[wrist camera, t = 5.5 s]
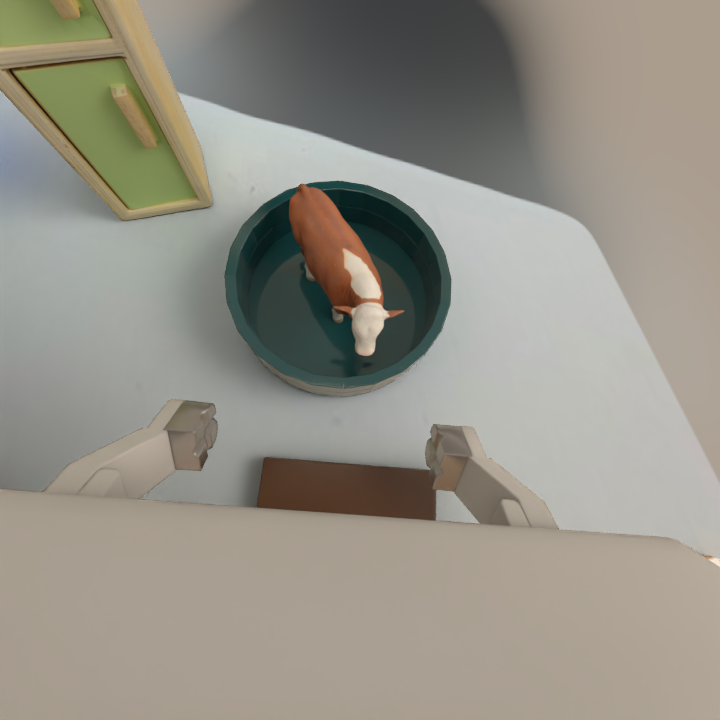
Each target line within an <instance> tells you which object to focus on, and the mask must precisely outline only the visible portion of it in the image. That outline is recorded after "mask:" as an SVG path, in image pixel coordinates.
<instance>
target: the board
mask: <svg viewBox="0 0 720 720" xmlns="http://www.w3.org/2000/svg"><path fill="white" fill-rule="evenodd" d="M429 472H430V470H421V469H409V468H396V467H384V466H372V465H359V464H347V463H335V462H322V461H310V460H298V459H285V458H273V457H265V458H264V462H263V469H262V475H261V482H260V489H259V496H258V503H257V508H268V509H282V510H296V511H310V512H324V513H338V514H352V515H365V516H379V517H392V518H406V519H419V520H434V521H435V519H436V490H435V489H432V486H431V482H430V478H429Z"/></svg>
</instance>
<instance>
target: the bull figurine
mask: <svg viewBox="0 0 720 720" xmlns="http://www.w3.org/2000/svg"><path fill="white" fill-rule="evenodd" d="M289 220H290V223H291V228H292V232H293V234H294V237H295V240H296V242H297V243H298V244H299V245H300V247H301V252H302V254H303V256H304V258H305V265H304V268H305V269H306V277H307V279H308V280H309V281H317V282H318V283H319V284H320V285H321V287H322V288H323V290H324V291H325V293H326V294H327V296H328V298H329V300H330V302H331V304H332V305H333V308H332V312H333V321H334V322H335V323H341V322H342V321H343V315H346V316H348V317H351V318H352V319H353V320H352V331H353V335H354V337H355V340H356V342H355V351H356V353H358V354H359V355H362V356H370V355H372V354H373V353H374V351H375V341H376V338H377V336H378V335H379V334H380V332H381V330H382V329H383V327H384V320H386V319H388V318H392V317H395V316H397V315H399V314H402V313H403V312H404V310H398V311H397V310H391V311H386V310H384V309H383V301H384V296H383V291H382V287H381V279H380V276H379V274H378V272H377V270H376V268H375V266H374V264H373V263H372V260H371V257H370V255H369V253H368V252H367V250H366V248H365V247H364V245H363V243H362V242H361V240H360V238H359V237H358V235H357V234H356V233H355V232H354V231H353V229H352V228H351V227H350V226H349V225H348V224H347V222H346V221H345V220H344V219H343V217H342V216H341V214H340V212H339V210H338V209H337V207H336V206H335V205H334V203H333V202H332V201H331V199H330V198H329V197H328V196H327V195H326V194H325V193H324V192H322V191H321V190H320V189H318V188H314V187H310V188H308V187H307V186H306V185H305V184H300V185H299V186H298V188H297V192H296V194H295V195H293V196H292V197H291V199H290V202H289Z"/></svg>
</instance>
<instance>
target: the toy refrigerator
mask: <svg viewBox="0 0 720 720" xmlns="http://www.w3.org/2000/svg"><path fill="white" fill-rule="evenodd" d="M0 90H1V91H2V92H3V93H4V94H5V96H6V97H7V98H8V99H9V100H10V101H11V102H12V103H13V104H14V105H15V106H16V107H17V109H18V110H19V111H20V112H21V113H22V114H23V115H24V116H25V117H26V118H27V119H28V120H29V122H30V123H31V124H32V125H33V126H34V127H35V128H36V129H37V130H38V131H39V132H40V133H41V134H42V135H43V137H44V138H45V139H46V140H47V141H48V142H49V143H50V144H51V145H52V146H53V147H54V148H55V149H56V150H57V152H58V153H59V154H60V155H61V156H62V157H63V158H64V159H65V160H66V161H67V162H68V163H69V164H70V166H71V167H72V168H73V169H74V170H75V171H76V172H77V173H78V174H79V175H80V176H81V177H82V178H83V179H84V181H85V182H86V183H87V184H88V185H89V186H90V187H91V188H92V189H93V190H94V191H95V192H96V193H97V194H98V195H99V197H100V198H101V199H102V200H103V201H104V202H105V203H106V204H107V205H108V206H109V207H110V208H111V209H112V210H113V212H114V213H115V214H116V215H117V216H118V217H119V218H120V219H121V220H123V221H127V220H134V219H139V218H145V217H151V216H157V215H162V214H168V213H174V212H180V211H186V210H192V209H198V208H204V207H209V206H211V205H212V198H211V192H210V187H209V183H208V178H207V173H206V169H205V164H204V159H203V155H202V151H201V147H200V144H199V141H198V139H197V137H196V135H195V132H194V130H193V128H192V125H191V123H190V121H189V118H188V116H187V114H186V111H185V109H184V107H183V105H182V102H181V100H180V98H179V95H178V93H177V91H176V88H175V86H174V84H173V82H172V79H171V77H170V75H169V72H168V70H167V68H166V65H165V63H164V61H163V58H162V56H161V54H160V51H159V49H158V47H157V45H156V42H155V40H154V38H153V35H152V33H151V31H150V28H149V26H148V24H147V22H146V19H145V17H144V15H143V12H142V10H141V8H140V5H139V3H138V1H137V0H0Z"/></svg>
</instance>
